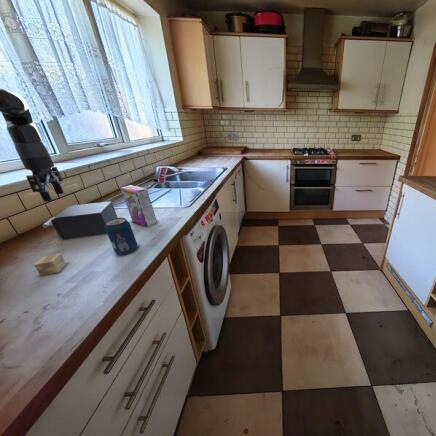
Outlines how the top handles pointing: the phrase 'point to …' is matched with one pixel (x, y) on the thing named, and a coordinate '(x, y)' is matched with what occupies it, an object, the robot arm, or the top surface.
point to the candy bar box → (139, 205)
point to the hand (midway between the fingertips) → (54, 197)
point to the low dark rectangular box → (85, 219)
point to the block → (50, 264)
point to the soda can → (121, 236)
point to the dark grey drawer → (53, 223)
